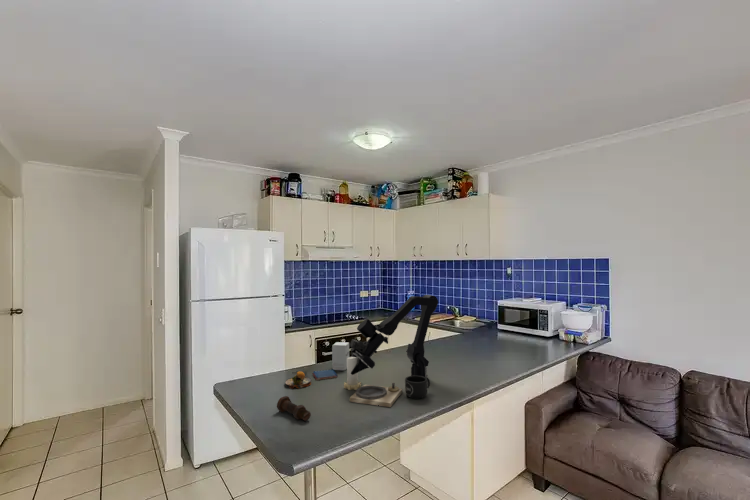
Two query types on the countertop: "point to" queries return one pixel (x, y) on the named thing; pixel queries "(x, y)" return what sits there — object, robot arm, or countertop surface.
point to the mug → (416, 386)
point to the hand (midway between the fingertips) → (349, 372)
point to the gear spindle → (352, 379)
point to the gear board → (376, 395)
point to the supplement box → (340, 355)
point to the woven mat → (324, 374)
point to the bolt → (293, 408)
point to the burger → (298, 381)
